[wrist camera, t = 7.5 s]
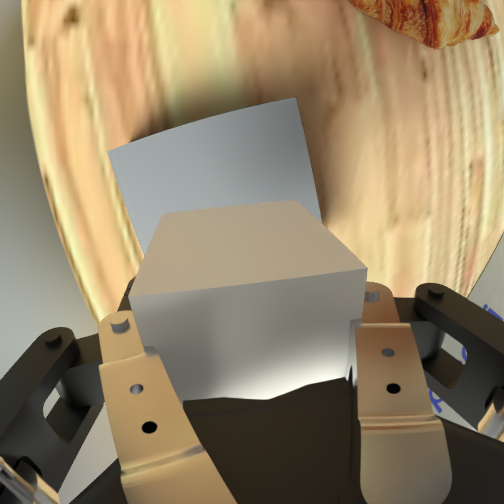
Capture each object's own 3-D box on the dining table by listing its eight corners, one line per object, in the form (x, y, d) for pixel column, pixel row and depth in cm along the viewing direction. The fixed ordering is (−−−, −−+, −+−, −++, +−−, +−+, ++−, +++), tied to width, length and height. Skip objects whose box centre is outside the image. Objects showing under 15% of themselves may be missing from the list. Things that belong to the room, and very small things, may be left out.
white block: (296, 199, 12) (367, 267, 7) (297, 311, 14) (344, 415, 9) (162, 213, 12) (128, 296, 6) (183, 325, 14) (177, 439, 8)
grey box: (275, 102, 24) (295, 97, 18) (306, 238, 28) (329, 267, 23) (129, 144, 23) (107, 151, 18) (175, 275, 28) (168, 313, 23)
